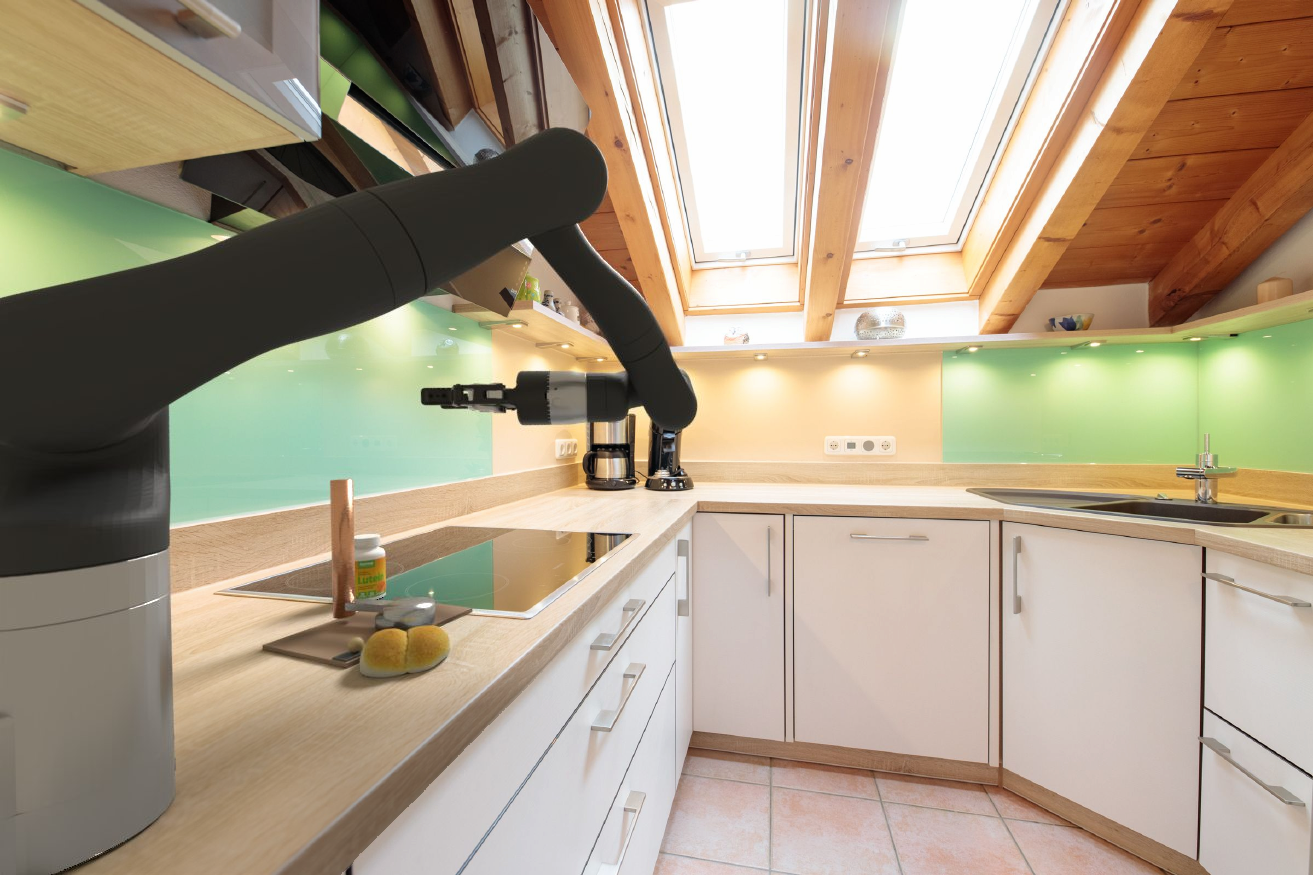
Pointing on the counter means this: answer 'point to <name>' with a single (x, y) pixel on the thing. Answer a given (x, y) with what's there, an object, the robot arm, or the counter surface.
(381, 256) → the robot arm
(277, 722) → the counter surface
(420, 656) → the bread roll
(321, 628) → the stand
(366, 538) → the supplement bottle
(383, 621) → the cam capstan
